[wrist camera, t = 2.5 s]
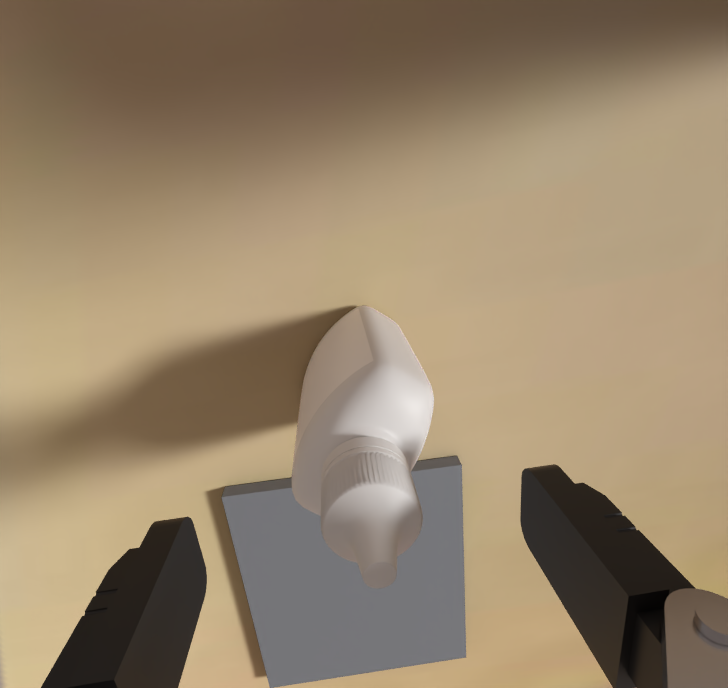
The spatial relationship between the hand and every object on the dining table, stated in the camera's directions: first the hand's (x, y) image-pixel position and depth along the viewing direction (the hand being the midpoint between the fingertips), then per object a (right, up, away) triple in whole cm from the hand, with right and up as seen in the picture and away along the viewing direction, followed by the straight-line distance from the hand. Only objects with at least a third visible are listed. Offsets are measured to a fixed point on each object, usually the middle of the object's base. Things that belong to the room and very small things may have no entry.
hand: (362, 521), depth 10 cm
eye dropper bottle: (-1, +4, +10) cm, 11 cm away
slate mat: (0, -9, +14) cm, 17 cm away
